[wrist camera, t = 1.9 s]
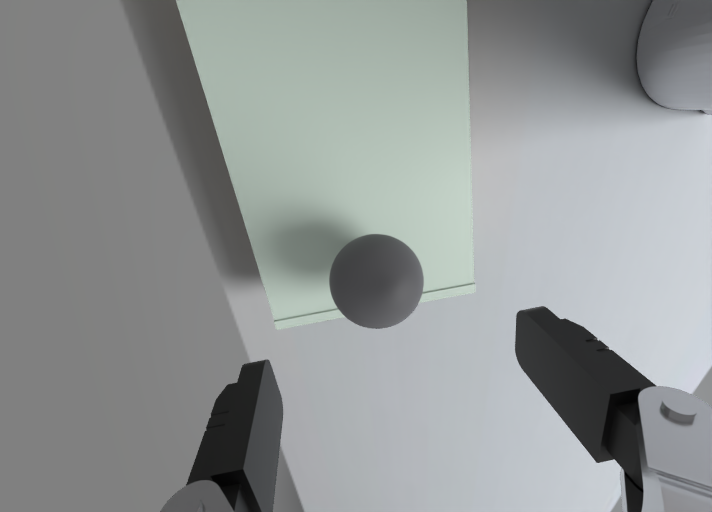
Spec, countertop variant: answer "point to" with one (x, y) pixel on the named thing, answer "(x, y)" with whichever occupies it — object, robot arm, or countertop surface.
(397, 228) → the lid
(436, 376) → the countertop surface
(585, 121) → the countertop surface
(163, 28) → the countertop surface
